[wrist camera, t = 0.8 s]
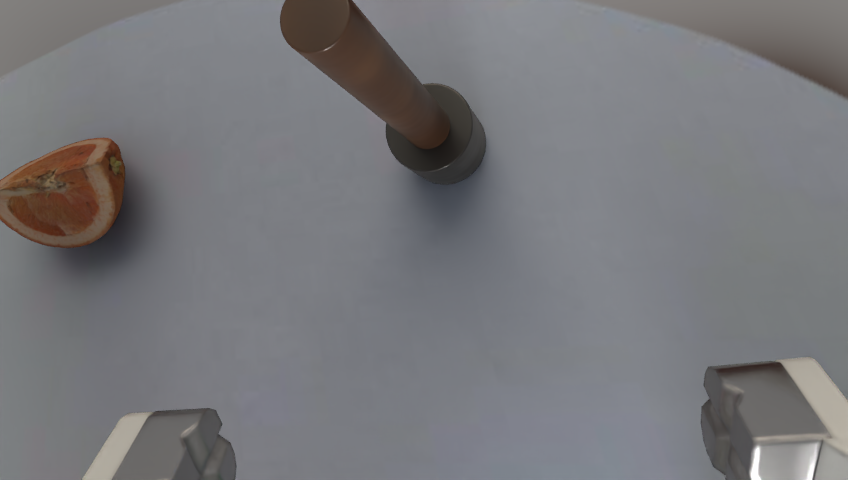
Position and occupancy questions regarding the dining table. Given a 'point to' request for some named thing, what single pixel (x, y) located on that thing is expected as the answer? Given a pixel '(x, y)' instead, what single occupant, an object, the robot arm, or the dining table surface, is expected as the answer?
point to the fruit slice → (65, 194)
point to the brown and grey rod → (388, 89)
